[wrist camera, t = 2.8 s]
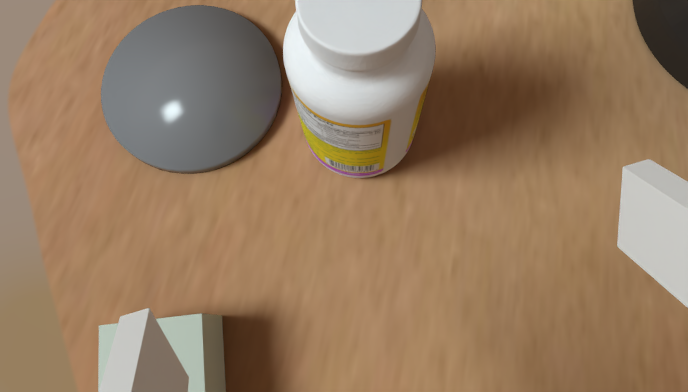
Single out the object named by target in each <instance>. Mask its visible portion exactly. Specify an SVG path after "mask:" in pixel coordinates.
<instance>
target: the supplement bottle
mask: <svg viewBox="0 0 688 392" xmlns="http://www.w3.org/2000/svg"><path fill="white" fill-rule="evenodd" d="M421 7H422V0H296V12H295V14H294V15H293V17H292V19H291V20H290V23H289V25H288V27H287V30H286V34H285V38H284V45H283V60H284V66H285V70H286V74H287V77H288V80H289V84H290V87H291V90H292V93H293V97H294V100H295V104H296V107H297V111H298V114H299V118H300V121H301V124H302V128H303V131H304V135H305V138H306V141H307V143H308V146H309V148H310V150H311V151H312V153H313V154H314V156H315V157H316V158H317V159H318V160H319V161H320V162H321V163H322V164H323V165H324V166H325V167H327V168H328V169H330V170H331V171H333V172H335V173H337V174H340V175H343V176H347V177H353V178H366V177H372V176H376V175H379V174H382V173H384V172H386V171H388V170H390V169H391V168H393V167H394V166H395V165H397V164H398V163H399V162H400V161H401V160H402V158H403V157H404V156H405V155H406V153H407V152H408V150H409V148H410V146H411V144H412V141H413V138H414V135H415V132H416V128H417V124H418V121H419V117H420V114H421V110H422V107H423V103H424V99H425V95H426V92H427V88H428V85H429V81H430V78H431V75H432V71H433V67H434V62H435V52H436V47H435V38H434V33H433V29H432V27H431V24H430V21H429V19H428V17H427V15H426V14H425V12H424V11H423V10H422V8H421Z"/></svg>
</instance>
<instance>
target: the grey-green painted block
mask: <svg viewBox="0 0 688 392" xmlns="http://www.w3.org/2000/svg"><path fill="white" fill-rule="evenodd" d="M156 320H157V322H158V324H159V326H160V327H161V329H162V331H163V333H164V334H165V336H166V338H167V340H168V341H169V343H170V345H171V347H172V348H173V350H174V352H175V354H176V355H177V357H178V359H179V361H180V362H181V364H182V366H183V368H184V369H185V371H186V373H187V375H188V376H189V384H188V392H226V382H225V363H224V344H223V325H222V315H212V314H202V313H201V314H193V315H185V316H176V317H168V318H159V319H156ZM117 326H118V323H117V324H108V325H100V326H99V389H100V386H101V382H102V379H103V375H104V372H105V368H106V365H107V361H108V358H109V354H110V351H111V347H112V344H113V340H114V337H115V333H116V330H117ZM99 389H98V392H99Z"/></svg>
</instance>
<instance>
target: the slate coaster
mask: <svg viewBox="0 0 688 392" xmlns="http://www.w3.org/2000/svg"><path fill="white" fill-rule="evenodd" d="M281 95H282V79H281V72H280V68H279V64H278V61H277V57H276V55H275V52H274V50H273V48H272V46H271V44H270V43H269V41H268V39H267V38H266V37H265V35H264V34H263V33H262V32H261V31H260V30H259V29H258V28H257V27H256V26H255V25H254V24H253V23H251V22H250V21H249V20H247V19H246V18H244V17H242V16H240V15H238V14H236V13H234V12H232V11H229V10H226V9H223V8H218V7H214V6H204V5H193V6H184V7H178V8H174V9H170V10H167V11H164V12H162V13H159V14H157V15H155V16H153V17H151V18H149V19H147V20H146V21H144V22H142V23H141V24H139V25H138V26H137V27H136V28H134V29H133V30H132V31H131V32H130V33H129V34H128V35H127V36H126V37H125V38H124V39H123V40H122V41H121V42H120V44H119V45H118V46H117V48H116V49H115V51H114V52H113V54H112V56H111V57H110V59H109V62H108V64H107V66H106V69H105V72H104V76H103V80H102V87H101V103H102V109H103V113H104V117H105V120H106V122H107V124H108V127H109V129H110V131H111V132H112V134H113V135H114V137H115V138H116V139H117V141H118V142H119V143H120V144H121V145H122V146H123V147H124V148H125V149H126V150H127V151H129V152H130V153H131V154H133V155H134V156H135V157H136V158H138V159H139V160H141V161H142V162H144V163H146V164H148V165H150V166H152V167H155V168H157V169H160V170H164V171H168V172H173V173H181V174H191V173H201V172H207V171H211V170H215V169H218V168H221V167H223V166H226V165H228V164H230V163H232V162H234V161H236V160H238V159H239V158H241V157H242V156H244V155H245V154H247V153H248V152H249V151H250V150H251V149H253V148H254V147H255V146H256V145H257V144H258V143H259V142H260V141H261V139H262V138H263V137H264V136H265V135H266V133H267V131H268V130H269V128H270V127H271V125H272V123H273V121H274V119H275V117H276V115H277V112H278V109H279V106H280V101H281Z"/></svg>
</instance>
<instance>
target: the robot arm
mask: <svg viewBox="0 0 688 392" xmlns="http://www.w3.org/2000/svg"><path fill="white" fill-rule="evenodd" d="M633 6H634V12H635V17H636V20H637V24H638V27H639V29H640V32H641V34H642V36H643V38H644V40H645V42H646V44H647V45H648V47H649V49H650V50H651V52H652V53H653V55H654V56H655V57H656V59H657V60H658V61H659V63H660V64H661V65H662V66H663V67H664V68H665V69H666V70H667V71H668V72H669V73H670V74H671V75H672V76H673V77H674V78H675V79H676V80H677V81H679V82H680V83H681V84H682V85H684V86H685V87H686V88H688V0H633ZM617 247H618V248H620V249H621V250H622V251H623V252H624V253H625V254H626V255H628V256H629V257H630V258H631V259H632V260H633V261H634V262H636V263H637V264H638V265H639V266H640V267H641V268H643V269H644V270H645V271H646V272H647V273H648V274H649V275H651V276H652V277H653V278H654V279H655V280H656V281H657V282H659V283H660V284H661V285H662V286H663V287H664V288H665V289H667V290H668V291H669V292H670V293H671V294H672V295H674V296H675V297H676V298H677V299H678V300H679V301H680V302H682V303H683V304H684V305H685V306H686V307H687V308H688V182H687V181H685V180H684V179H682V178H680V177H679V176H677V175H675V174H674V173H672V172H670V171H669V170H667V169H665V168H663V167H662V166H660V165H658V164H657V163H655V162H653V161H652V160H650V159H648V160H644V161H641V162H637V163H634V164H631V165H627V166H624V167H623V173H622V187H621V201H620V215H619V229H618V243H617ZM188 384H189V376H188V375H187V373H186V371H185V369H184V368H183V366H182V364H181V362H180V361H179V359H178V357H177V355H176V354H175V352H174V350H173V348H172V347H171V345H170V343H169V341H168V340H167V338H166V336H165V334H164V333H163V331H162V329H161V327H160V326H159V324H158V322H157V320H156V319H155V317H154V315H153V313H152V312H151V310H150V308H147V309H144V310H141V311H137V312H134V313H131V314H127V315H124V316H121V317H120V319H119V323H118V326H117V330H116V333H115V337H114V340H113V344H112V347H111V351H110V354H109V358H108V361H107V365H106V368H105V372H104V375H103V379H102V382H101V386H100V389H99V392H188Z"/></svg>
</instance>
